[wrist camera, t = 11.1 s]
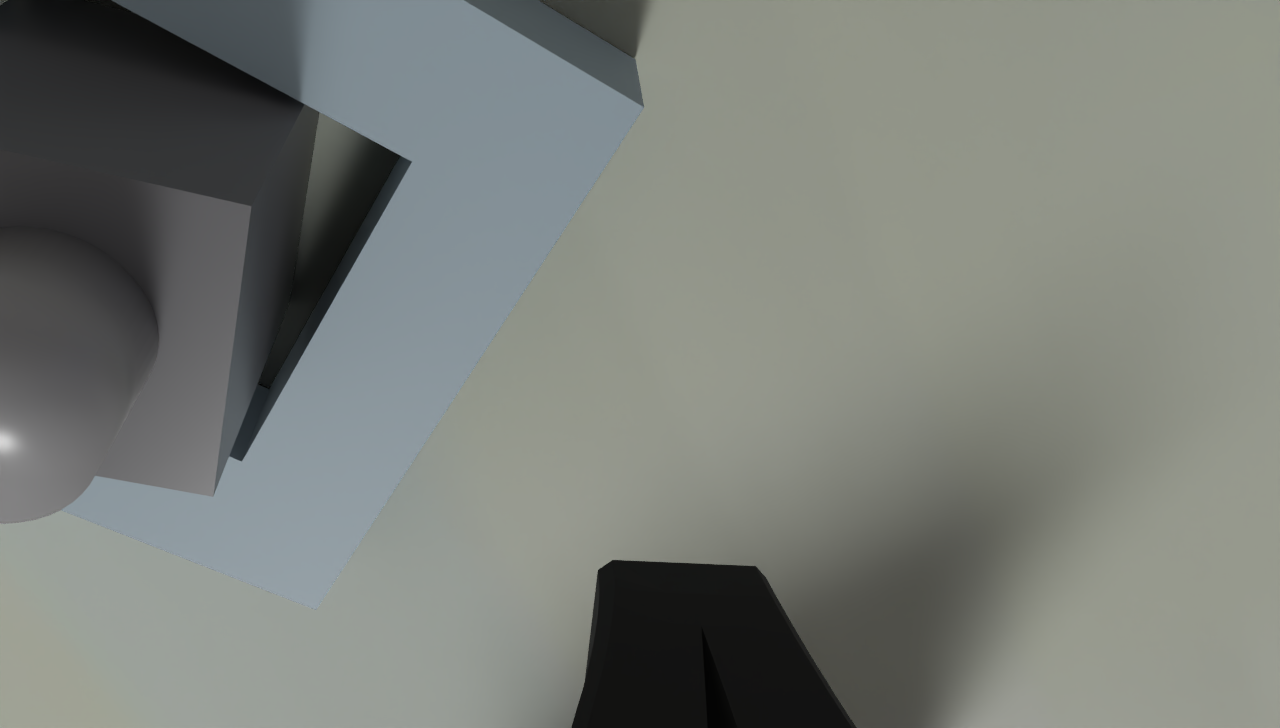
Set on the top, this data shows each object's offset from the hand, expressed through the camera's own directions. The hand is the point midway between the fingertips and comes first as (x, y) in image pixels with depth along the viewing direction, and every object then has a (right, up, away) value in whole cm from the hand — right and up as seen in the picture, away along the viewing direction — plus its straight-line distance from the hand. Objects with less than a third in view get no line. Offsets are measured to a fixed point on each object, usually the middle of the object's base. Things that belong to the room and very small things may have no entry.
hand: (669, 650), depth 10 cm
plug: (-7, +6, +7) cm, 12 cm away
